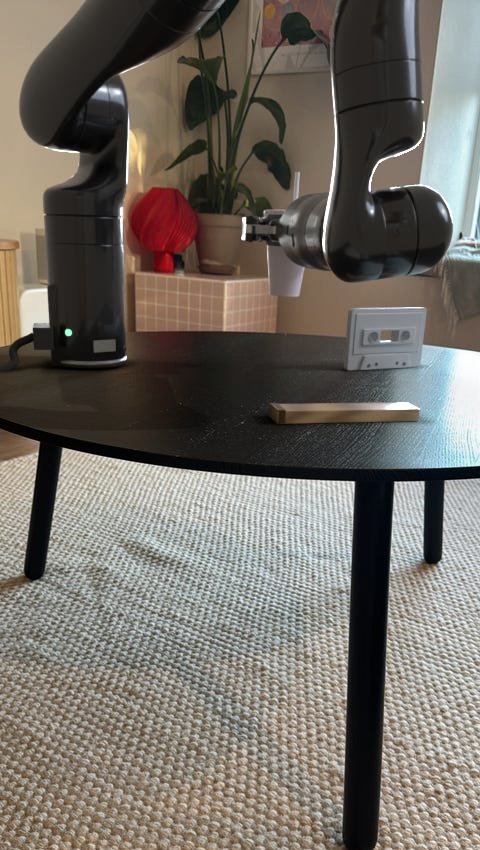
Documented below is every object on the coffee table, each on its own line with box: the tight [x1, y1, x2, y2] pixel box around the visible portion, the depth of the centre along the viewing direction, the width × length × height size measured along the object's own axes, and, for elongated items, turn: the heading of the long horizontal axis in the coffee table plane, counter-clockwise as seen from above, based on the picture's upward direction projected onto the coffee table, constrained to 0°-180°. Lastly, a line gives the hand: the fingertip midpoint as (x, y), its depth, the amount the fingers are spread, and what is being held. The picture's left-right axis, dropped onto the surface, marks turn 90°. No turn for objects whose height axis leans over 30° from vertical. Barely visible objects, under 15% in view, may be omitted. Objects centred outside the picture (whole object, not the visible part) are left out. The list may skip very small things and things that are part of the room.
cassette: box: [343, 306, 428, 371], centre depth 98 cm, size 12×2×8 cm, turn 116°
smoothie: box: [262, 171, 305, 298], centre depth 91 cm, size 6×6×14 cm
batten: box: [269, 401, 421, 425], centre depth 72 cm, size 14×3×1 cm, turn 102°
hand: (282, 230), depth 93 cm, fingers closed on smoothie, 6 cm apart
